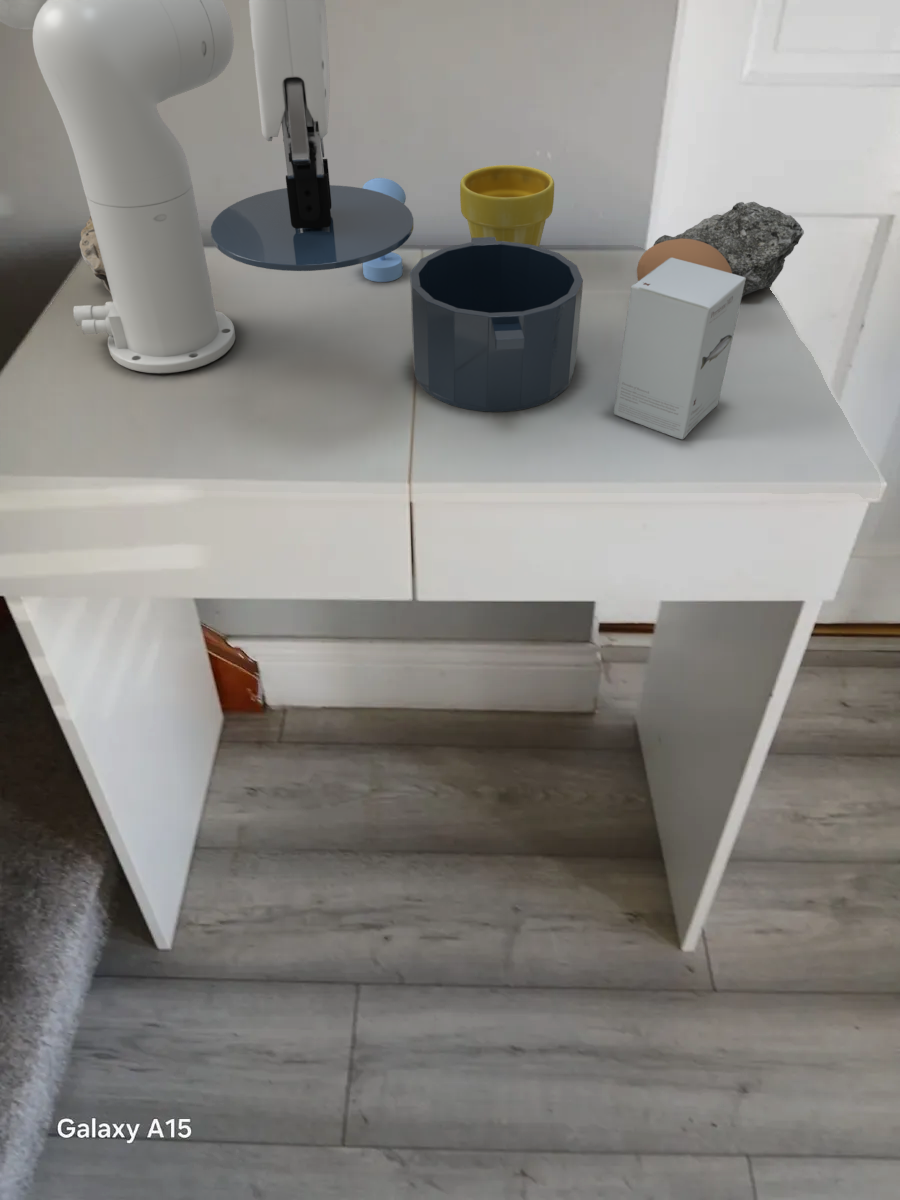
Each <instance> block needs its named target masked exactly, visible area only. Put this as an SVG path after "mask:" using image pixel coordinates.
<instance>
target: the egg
mask: <svg viewBox="0 0 900 1200" xmlns="http://www.w3.org/2000/svg"><path fill="white" fill-rule="evenodd" d="M653 245H654V244H653ZM653 245H652V246H651V247H649V248H648V249H646V251H644V253H643V254H642V255H641V257H640V258H639V261H638V263H637V268H636V276H637V282H638V281H639V280H641V279H642V278H643V277H645V276H646V275H647V274H649V273H650V272H651V271H653V270H654V269H656V268H657V267H658V266H660V265H661V264H662V263H664V262H665V261H666V260H668V259H669V258H675V259H679V260H683V261H687V262H691V263H695V264H698V265H702V266H706V267H710V268H714V269H717V270H721V271H724V272H728V273H732V271H731V268H730V266H729V264H728V262H727V260H726V259H725V257H724V256H723V255H722V254H721V253H720V252H719V251H718V250H717V249H715V248H714V247H712V246H711V245H709V244H706V243H704V242H701V241H697V240H693V239H682V238H681V239H674V240H667V241H664V242H661V243H658V244H656V245H654V246H653Z"/></svg>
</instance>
